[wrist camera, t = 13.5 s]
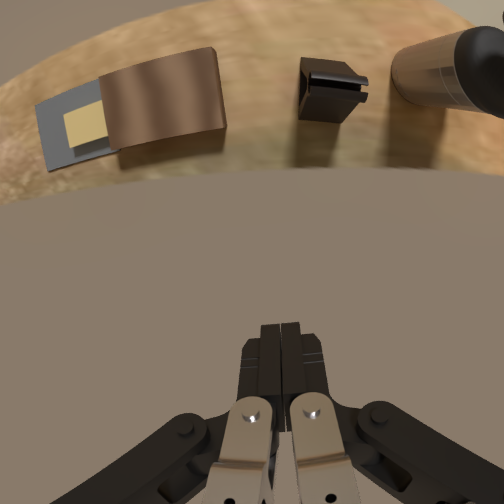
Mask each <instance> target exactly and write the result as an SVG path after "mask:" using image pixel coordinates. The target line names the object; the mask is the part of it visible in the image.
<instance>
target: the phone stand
mask: <svg viewBox="0 0 504 504" xmlns="http://www.w3.org/2000/svg"><path fill="white" fill-rule="evenodd" d="M361 85H365V86H368V85H369V84H368V79H367V77H365V76H359V75H357V74H356V73H355V72H354V71H353V70H352V69H351V68H350V67H349V66H348V65H347V64H346V63H345V62H340V61H333V60H324V59H315V58H305V57H301V68H300V95H299V117H298V119H299V120H310V121H322V122H332V123H342V122H343V121H344V120H345V119H346V118H347V116H348V115H349V114H350V113H351V112H352V111H353V109H354V108H355V107H356V106H357V105H358V103H360V102H361V103H365V102H366V100H367V97H368V93H366V92H361Z"/></svg>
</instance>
